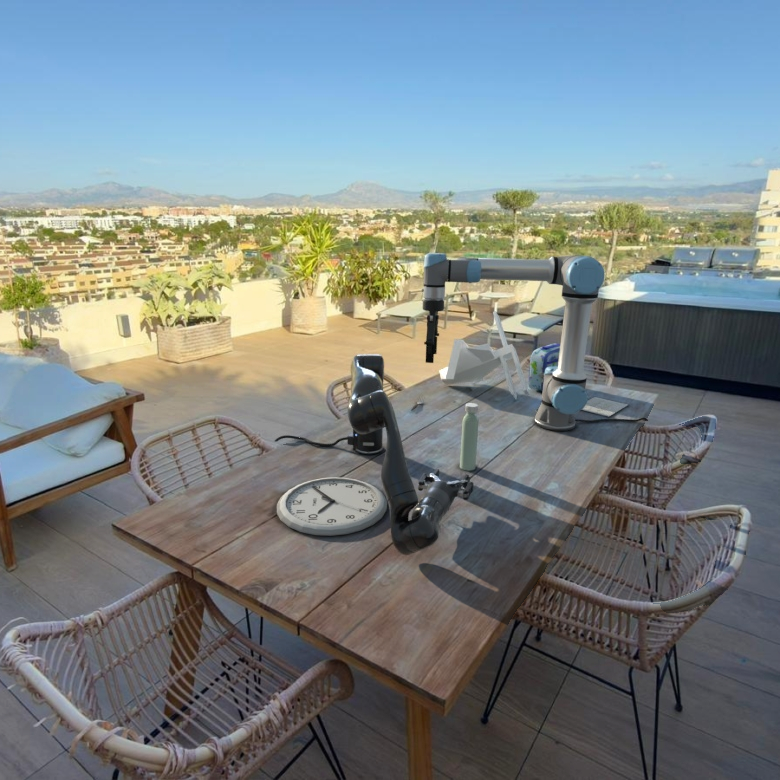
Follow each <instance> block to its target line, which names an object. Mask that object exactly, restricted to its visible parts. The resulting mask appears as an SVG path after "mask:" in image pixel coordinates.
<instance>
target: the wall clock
mask: <svg viewBox="0 0 780 780" xmlns="http://www.w3.org/2000/svg"><path fill="white" fill-rule="evenodd" d="M387 509H388V501H387V498H386V495H385V493H383V492H382V491H381V490H380V489H379V488H377V487H376V486H374V485H372V484H371V483H369V482H365V481H362V480H359V479H355V478H349V477H338V476H337V477H335V476H333V477H332V476H331V477H322V478H317V479H312V480H307V481H305V482H302V483H299V484H297V485H295V486H293V487H292V488H290V489H288V490H287V491H286V492H285V493H284V494H283V495H281V496H280V498H279V499H278V502H277V503H276V515H277V517H278V518H279V520H280V521H281V522H282V523H283V524H285V525H286V526H287V527H288V528H290V529H293V530H295V531H297V532H299V533H303V534H308V535H312V536H327V537H328V536H329V537H331V536H332V537H333V536H342V535H350V534H352V533H356V532H361V531H363V530H366V529H368V528H369V527H372V526H373V525H375V524H376V523H378V522H379V521H380V520H381V519H382V518H383V517H384V516H385V514H386V512H387Z"/></svg>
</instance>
